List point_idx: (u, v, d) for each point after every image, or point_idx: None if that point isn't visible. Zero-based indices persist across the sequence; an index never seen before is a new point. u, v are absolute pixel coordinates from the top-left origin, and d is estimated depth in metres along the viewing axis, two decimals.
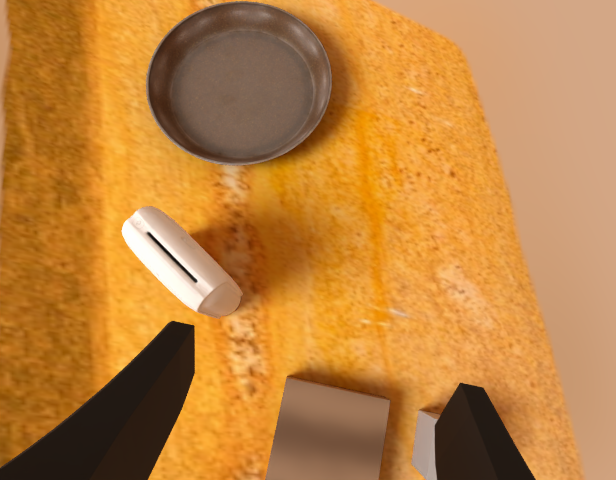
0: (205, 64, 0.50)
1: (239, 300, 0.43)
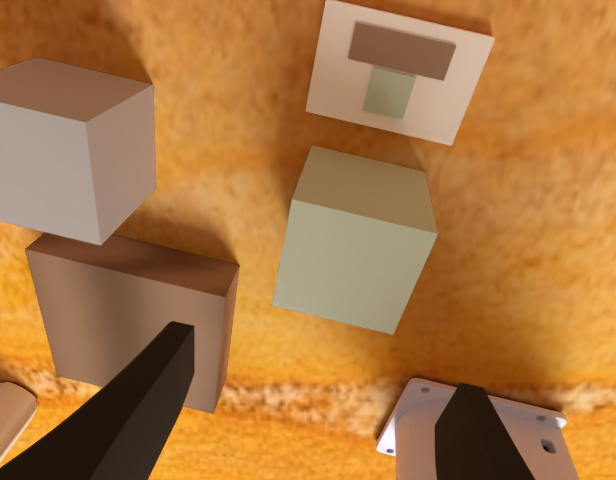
0: None
1: (2, 390, 0.31)
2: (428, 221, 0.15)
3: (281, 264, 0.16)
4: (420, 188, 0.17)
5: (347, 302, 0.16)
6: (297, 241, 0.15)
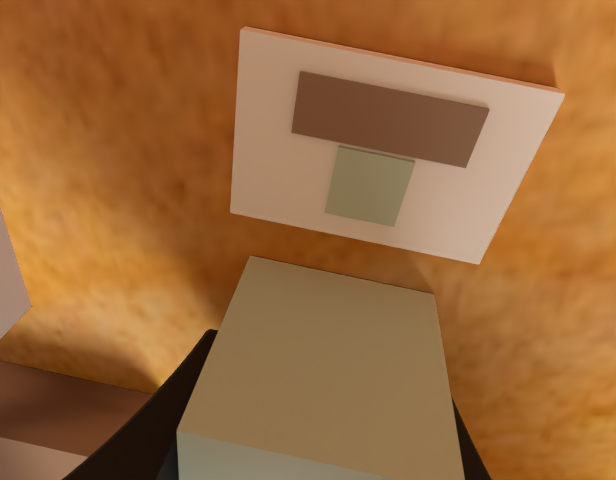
0: None
1: None
2: (446, 451, 0.08)
3: None
4: (428, 345, 0.10)
5: None
6: None
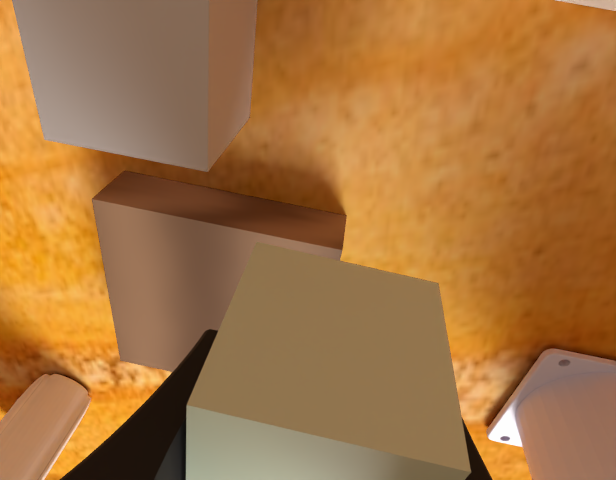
0: None
1: (51, 383, 0.27)
2: (450, 431, 0.08)
3: None
4: (432, 331, 0.10)
5: None
6: (208, 458, 0.08)
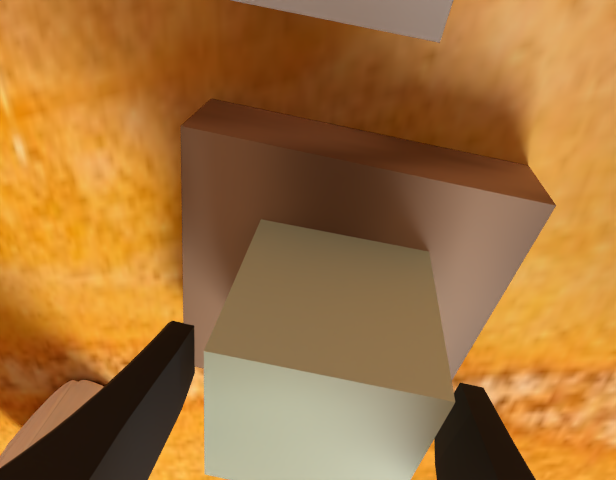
0: None
1: (80, 392, 0.22)
2: (437, 370, 0.09)
3: (207, 429, 0.10)
4: (422, 291, 0.11)
5: (316, 476, 0.10)
6: (224, 403, 0.09)
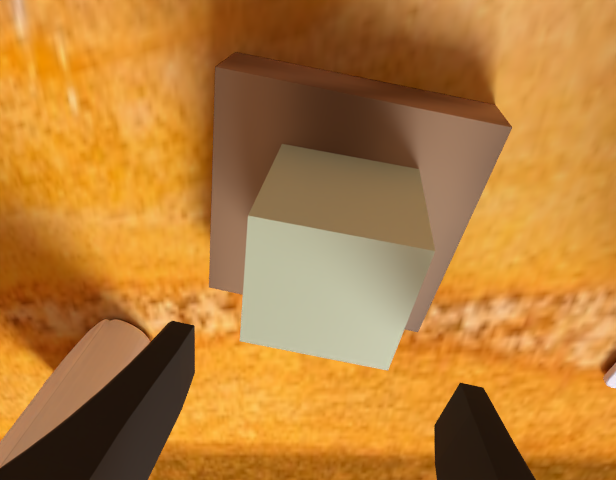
0: None
1: (113, 328, 0.25)
2: (422, 234, 0.12)
3: (245, 293, 0.13)
4: (413, 191, 0.14)
5: (329, 335, 0.13)
6: (260, 266, 0.12)
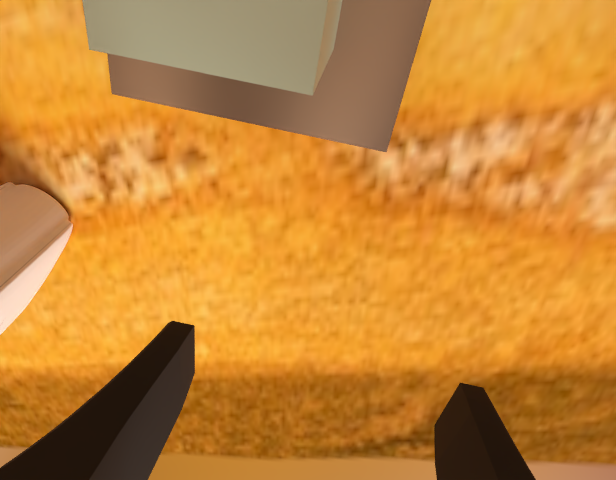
0: None
1: (17, 191, 0.20)
2: None
3: None
4: None
5: (216, 19, 0.08)
6: None
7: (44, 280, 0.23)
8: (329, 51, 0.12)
